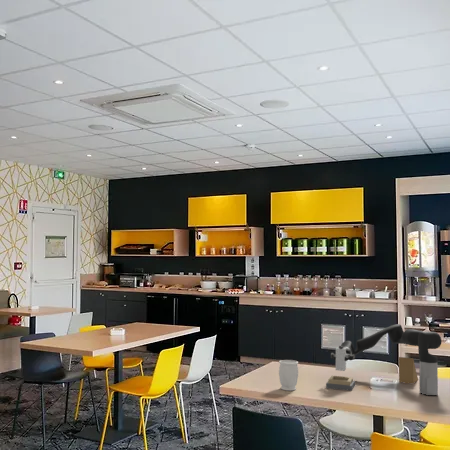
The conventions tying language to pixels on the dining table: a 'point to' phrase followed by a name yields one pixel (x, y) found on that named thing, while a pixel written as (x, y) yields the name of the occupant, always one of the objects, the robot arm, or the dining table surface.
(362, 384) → the dining table surface
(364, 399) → the dining table surface
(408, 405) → the dining table surface
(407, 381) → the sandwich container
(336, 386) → the charcoal dock
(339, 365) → the grey bottle
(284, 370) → the jar
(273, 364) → the dining table surface
